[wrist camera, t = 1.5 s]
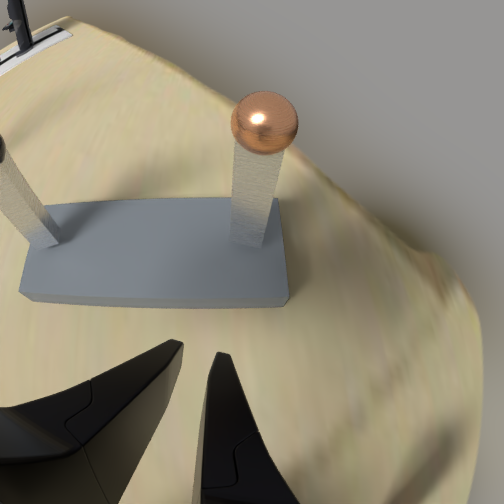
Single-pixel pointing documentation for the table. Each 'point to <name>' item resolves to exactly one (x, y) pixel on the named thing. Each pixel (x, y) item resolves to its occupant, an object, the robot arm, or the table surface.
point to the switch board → (156, 257)
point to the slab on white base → (27, 37)
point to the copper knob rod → (258, 161)
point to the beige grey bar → (24, 205)
